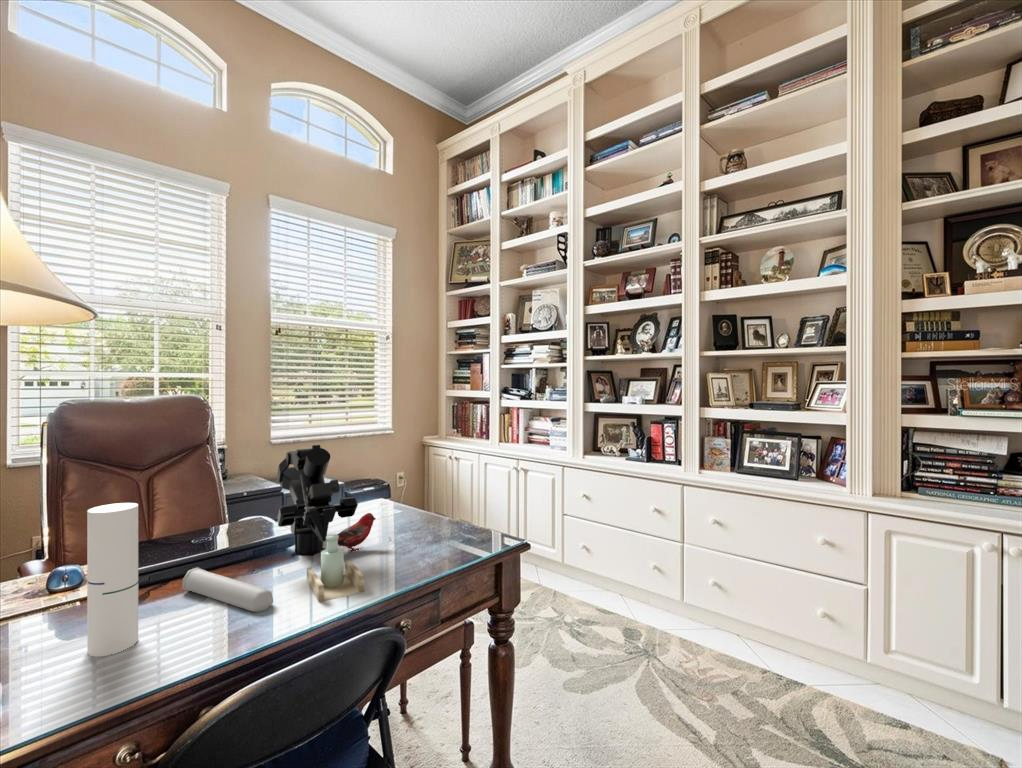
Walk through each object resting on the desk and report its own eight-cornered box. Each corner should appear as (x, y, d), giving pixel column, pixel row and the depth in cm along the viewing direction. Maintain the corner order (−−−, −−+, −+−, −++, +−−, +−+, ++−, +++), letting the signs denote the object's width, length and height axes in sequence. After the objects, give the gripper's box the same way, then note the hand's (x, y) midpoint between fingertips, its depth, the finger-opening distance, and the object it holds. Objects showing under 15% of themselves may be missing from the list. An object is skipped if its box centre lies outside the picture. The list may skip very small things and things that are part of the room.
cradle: (306, 585, 115) (306, 568, 115) (349, 575, 121) (349, 559, 121) (318, 604, 105) (318, 585, 105) (364, 593, 111) (364, 575, 111)
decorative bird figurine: (378, 546, 142) (378, 512, 142) (320, 563, 129) (320, 525, 129) (373, 544, 144) (373, 510, 144) (315, 560, 131) (315, 523, 131)
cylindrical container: (107, 636, 92) (106, 503, 92) (147, 634, 93) (147, 502, 92) (76, 657, 85) (76, 513, 85) (120, 655, 86) (120, 512, 85)
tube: (281, 588, 105) (208, 567, 116) (260, 589, 100) (186, 567, 111) (274, 615, 103) (201, 591, 114) (252, 617, 99) (178, 592, 110)
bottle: (316, 586, 113) (316, 538, 113) (328, 578, 118) (328, 532, 118) (336, 588, 112) (336, 540, 112) (347, 579, 117) (347, 533, 117)
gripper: (279, 473, 121) (287, 529, 112) (355, 466, 131) (368, 517, 122) (274, 499, 127) (281, 554, 118) (347, 490, 138) (359, 540, 129)
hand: (324, 540), depth 122 cm, fingers closed
